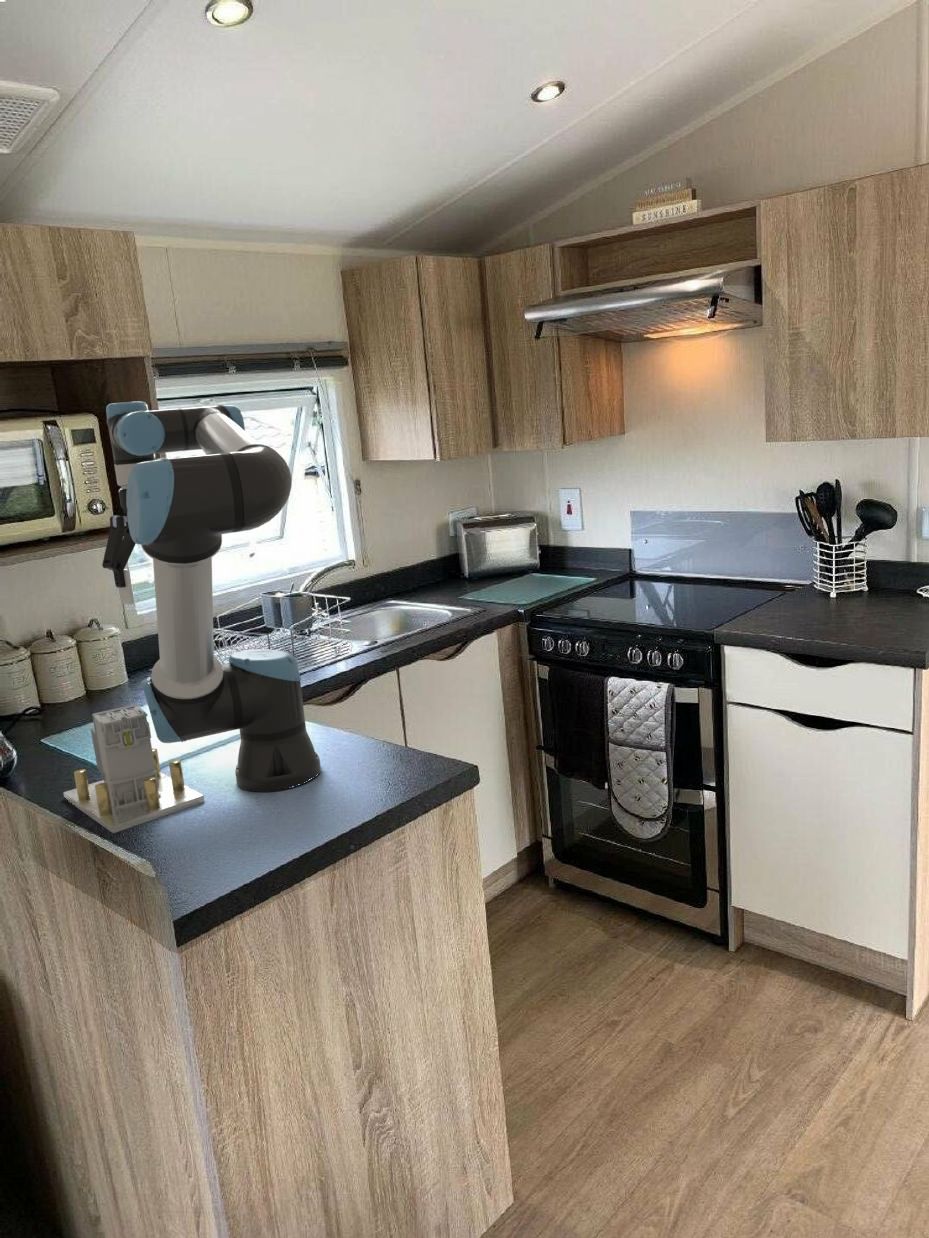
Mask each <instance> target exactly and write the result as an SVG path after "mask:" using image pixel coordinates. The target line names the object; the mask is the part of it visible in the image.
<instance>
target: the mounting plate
mask: <svg viewBox="0 0 929 1238" xmlns="http://www.w3.org/2000/svg"><path fill="white" fill-rule="evenodd" d="M152 752H153V759H154V765H155V770H156V771H157V777H158V783H159V789H158V788H157V782H156V778H155V777H150V778H146V779H144V780H143V781H144V787H145V793H146V799H147V801H144V802H140V803H137V804H133V805H129V806H125V807H122V808H118V809H116V808H115V807H114V805H113V804H112V803H111V801H110V795H109V789H108V784H107V783H104V781H103V779H102V780H99V781H96V782H92V783H90V784H89V781H88V780H89V779H88V773H87V770H86V769H79V770H78V769H77V770H75V771H73V776H74V782H75V788H73V789H70V790H66V791H64V792H63V793H62V794H63V797H65V798H66V799H67V800H68V802H69V803H70V804H71V803H72V804H71V805H72V806H74V805H75V806H74V807H75V808H77V809H78V810H80V811H81V812H83V813H84V814H86V815H87V816H88V817H90V818H91V819H92V820H93V821H95V822H97V823H98V824H99V825H101V826H102V827H104V828H105V829H106V830H108V831H109V832H111V833H112V834H115V833H118V832H121V831H124V830H128V829H130V828H133V827H136V826H138V825H141V824H145V823H147V822H150V821H153V820H156V819H159V818H162V817H165V816H168V815H170V814H173V813H176V812H179V811H181V810H184V809H188V808H192V807H193V806H196V805H201V804H202V803H205V797H204V795H203V794H202V793H200V792H198V791H197V790H194V789H193V788H191V787H189V786H187V785H186V784H185V779H184V773H183V767H182V760H179V759H177V760H171V761H169V762H168V766H169V771H170V772H169V773H170V776H169V775H167V774H165V773H163V772H161V765H160V761H159V752H158V748H152ZM158 793H159V794H160V795H161V797H159V794H158ZM66 799H65V800H66ZM67 800H66V801H67ZM121 805H123V804H121Z"/></svg>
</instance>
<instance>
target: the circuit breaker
mask: <svg viewBox="0 0 929 1238" xmlns="http://www.w3.org/2000/svg"><path fill="white" fill-rule="evenodd" d="M91 716H92V721H93V722H92V723H93V727H92V728H90V732H91V740H92V744H93V750H94V756H95V757H94V758H95V762H96V768H97V769H98V771H99V772H100V774H101V775H102V780H103V781H104V783H107V784H108V789H109V795H110V801H111V803H112V804H113V805H114V807H115V808H116V809H118V808H122V807H125V806H129V805H133V804H137V803H140V802H144V801H147V799H146V793H145V787H144V781H143V780H144V779H146V778H150V777H155V778H156V782H157V788H158V789H159V783H158V777H157V771H156V770H155V765H154V759H153V752H152V749H153V748H152V747H153V746H152V742H151V738H152V734H151V727H150V723H149V722H148V719H147V717H148V713H146V711H145V710H144V709H143V708H141V707H140V705H138V704H136V703H135V704H131V705H130V704H129V705H126V706H121V707H118V708H112V709H108V710H104V711H100V712H99V711H98V712H95V713H92V714H91ZM158 794H159V793H158ZM159 797H161V795H160V794H159ZM121 804H123V805H121Z"/></svg>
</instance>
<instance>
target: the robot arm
mask: <svg viewBox="0 0 929 1238" xmlns="http://www.w3.org/2000/svg"><path fill="white" fill-rule="evenodd" d="M148 407H149V406H148V404H147V403H146V402H145V401H142V400H141V401H127V402H115V403H114V402H113V403H109V404H108V405H107V406H106V409H105V411H106V425H107V427H108V432H109V433H108V434H109V438H110V444H111V449H112V457H113V463H114V464H113V465H114V471H115V477H116V478H115V479H116V483H117V486H119V487H120V488H119V489H118V497H119V503H120V507H121V508H122V509H123V515H111V516H110V517H109V523H110V525H109V526H110V528H109V534H108V538H107V543H106V546H105V551H104V556H103V560H102V563H101V567H102V568H103V569H107V570H110V571H112V572H113V578H114V584H115V587H116V588H118V592H119V600H120V603H121V605H134V604H135V599H134V593H133V592H134V591H133V587H132V582H131V574H130V569H129V568H128V569H127V568H126V566H127V564H128V561H129V559H130V558H131V555H132V553H133V551H134V549H135V546H136V545H140V546H141V548H142V551H144V553H145V554H146V555H147V556H148V557H150V558H151V559H152V563H153V566H152V568H153V580H154V592H155V595H154V596H155V606H156V607H155V608H156V609H155V610H156V622H157V635H158V650H159V659H158V660H157V661H156V662H155V664H154V665H153V667H152V670H151V676H149V677H147V678H144V679H143V680H142V681H141V685H142V689H143V693H144V696H145V699H146V703H147V706H148V710H149V712H150V713H149V715H150V717H151V721H152V725H153V727H154V732H155V734H156V737H157V739H158V741H160V742H161V743H163V744H172V743H184V742H187V741H191V740H195V739H199V738H204V737H208V736H213V735H218V734H222V733H226V732H231V731H235V730H239V735H240V736H239V737H240V744H239V748H238V749H239V750H238V756H237V764H236V767H235V771H234V772H235V779H236V784H237V785H238V787H239V788H241V789H244V790H246V791H251V792H276V791H277V792H278V791H282V790H281V789H284V790H287V789H286V788H288V789H290V788H289V787H292V786H296V785H298V784H302V783H304V782H306V781H308V780H309V779H311V778H313V777H315V776H316V775H317V774H318V773H319V772H320V769H321V770H322V768H321V760H320V756H319V754H318V753H317V752H316V750H315V747H314V744H313V743H312V740H311V738H310V735H309V734H308V731H307V725H306V718H305V717H306V716H305V710H304V709H305V708H304V702H303V701H304V700H303V693H302V685H301V683H302V682H301V680H302V677H301V675H300V671H299V665H298V660H297V659H296V657H295V656H294V655H293V654H292V653H290V652H287V651H283V650H278V649H268V648H266V649H265V648H264V649H263V648H262V649H261V648H259V649H258V648H257V649H244V650H243V649H242V650H238V651H234V652H233V653H231V654H230V655H229V657H228V663H224V664H222V663H221V662H220V660H219V659H218V658H216V657H215V653H214V652H215V651H214V650H215V648H214V647H215V644H214V642H215V641H214V608H213V606H214V605H213V603H214V602H213V601H214V600H213V599H214V597H213V562H212V561H213V557H214V556H216V555H217V554H218V552H219V551H220V550H221V547H222V544H223V543H222V542H223V537H222V536H223V535H225V534H226V535H227V534H233V533H240V532H245V531H252V530H254V529H258V528H260V527H261V526H264V525H265V524H267V523H269V522H270V521H271V520H272V519H274V518H275V517H276V516H277V515H278V514H279V513H280V512H281V511H282V510H283V508H284V507H285V505H286V504H287V502H288V499H289V497H290V495H291V489H292V485H293V483H292V482H293V481H292V480H293V479H292V474H291V470H290V467H289V465H288V464H287V462H286V460H285V458H284V457H282V455H281V454H280V453H278V452H277V451H276V450H275V449H274V448H272V447H271V446H268V445H265V444H263V443H258V442H257V441H256V440H254V439H253V438H252V437H251V436H250V435H249V434H248V433H247V432H246V429H245V422H244V421H245V420H244V417H243V414H242V411H241V409H240V408H239V407H238V406H237V405H233V404H230V405H229V404H228V405H227V404H226V405H225V404H216V405H209V406H208V405H207V406H196V407H184V408H168V409H157V410H149V408H148ZM196 450H198V451H199V450H202V451H203V453H205V454H204V455H195V456H194V455H193V456H185V457H184V456H183V457H176V458H174V457H173V458H168V457H159V458H157V459H156V454H164V453H165V454H166V453H175V452H177V453H178V452H188V451H196ZM125 527H126V528H125ZM320 773H321V772H320ZM302 785H303V784H302ZM296 787H297V786H296Z"/></svg>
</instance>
